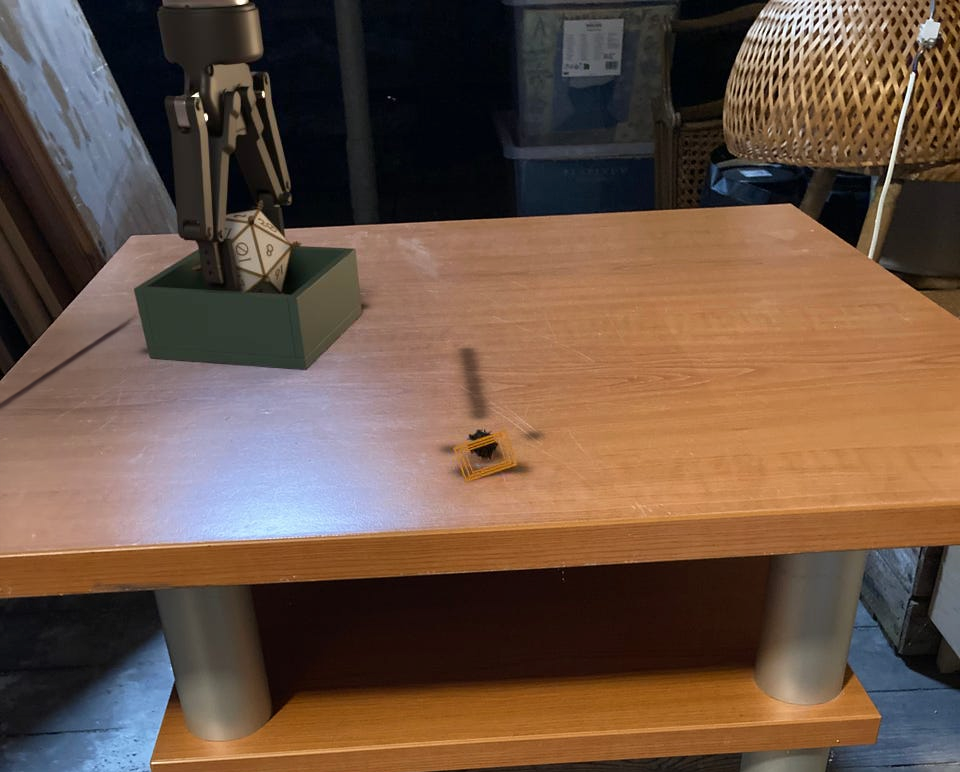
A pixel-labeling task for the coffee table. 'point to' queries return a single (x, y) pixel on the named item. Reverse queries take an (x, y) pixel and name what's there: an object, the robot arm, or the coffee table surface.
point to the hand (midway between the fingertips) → (252, 299)
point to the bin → (252, 312)
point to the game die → (258, 251)
